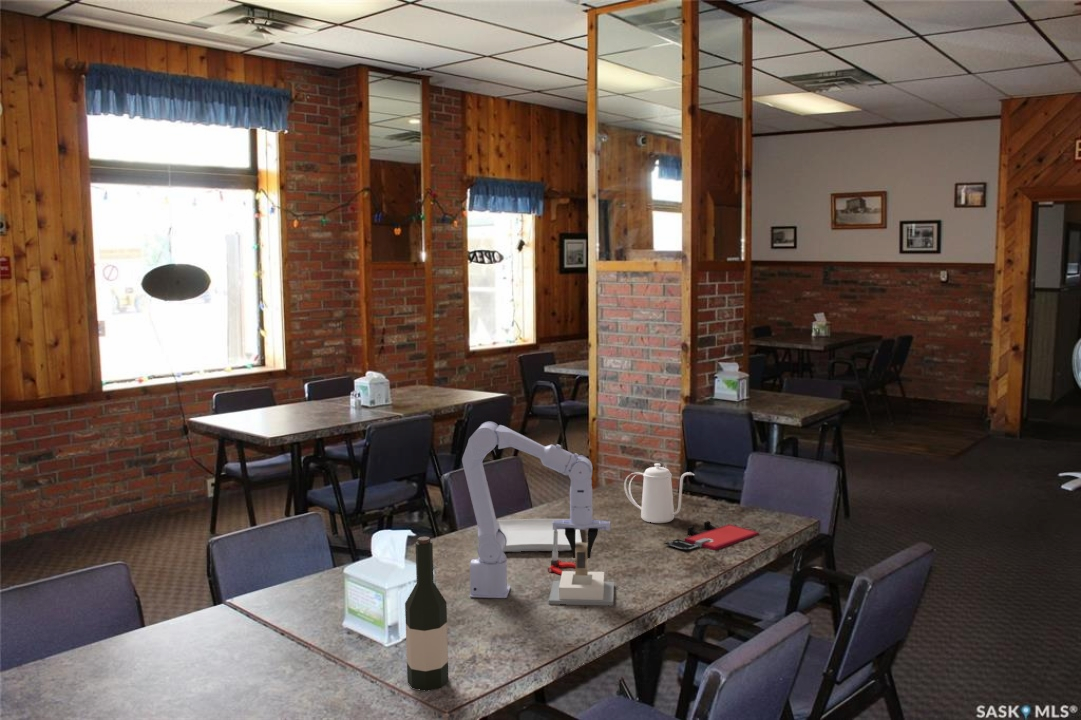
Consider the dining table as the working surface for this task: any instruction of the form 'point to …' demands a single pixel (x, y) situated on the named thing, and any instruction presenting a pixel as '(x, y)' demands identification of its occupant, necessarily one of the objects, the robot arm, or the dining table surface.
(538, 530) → the square plate
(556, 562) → the tow hook
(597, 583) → the slotted block
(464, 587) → the dining table surface
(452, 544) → the dining table surface
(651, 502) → the coffeepot
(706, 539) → the red board with handle
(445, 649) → the wine bottle
